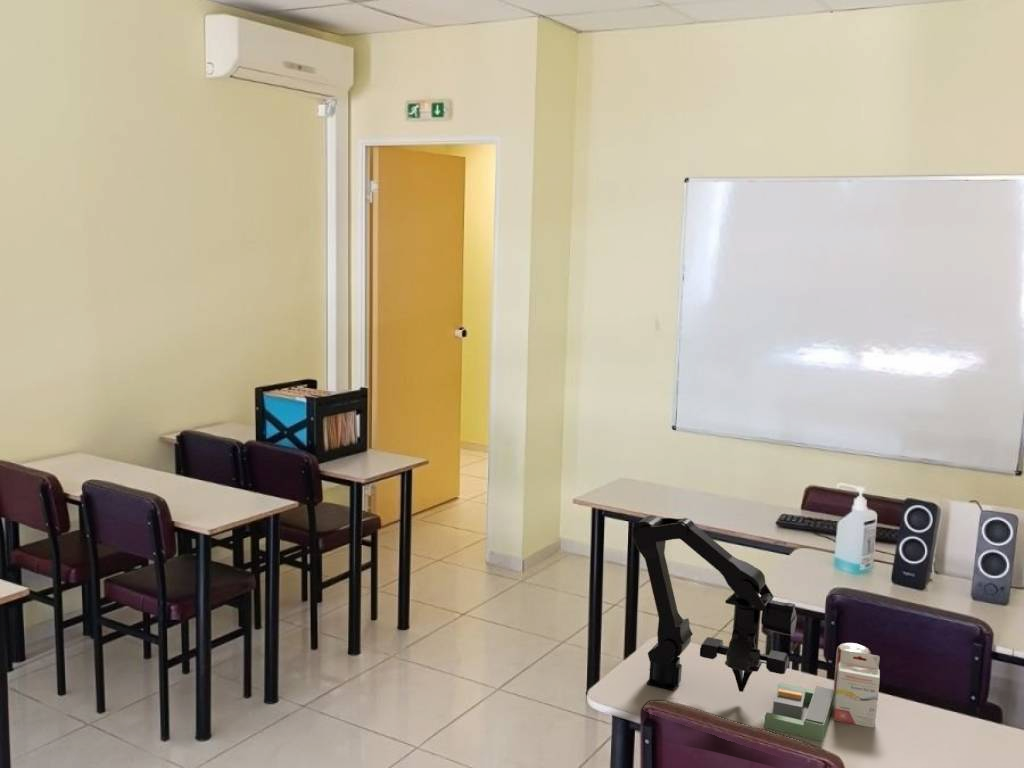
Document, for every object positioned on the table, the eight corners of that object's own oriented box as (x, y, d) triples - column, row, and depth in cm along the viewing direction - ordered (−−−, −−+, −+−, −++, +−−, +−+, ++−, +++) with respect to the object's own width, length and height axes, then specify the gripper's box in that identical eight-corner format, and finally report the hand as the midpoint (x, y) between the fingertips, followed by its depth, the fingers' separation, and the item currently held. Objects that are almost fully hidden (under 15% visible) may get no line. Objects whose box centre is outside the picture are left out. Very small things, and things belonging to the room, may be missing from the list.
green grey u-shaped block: (764, 727, 206) (765, 710, 206) (778, 692, 222) (780, 677, 222) (822, 741, 201) (823, 724, 201) (833, 704, 217) (834, 688, 217)
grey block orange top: (772, 716, 212) (774, 697, 211) (776, 700, 219) (778, 682, 218) (800, 722, 210) (802, 702, 209) (804, 706, 217) (805, 687, 216)
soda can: (868, 708, 216) (873, 657, 215) (835, 703, 218) (839, 653, 216) (863, 693, 223) (868, 644, 222) (831, 689, 225) (835, 640, 223)
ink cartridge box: (833, 721, 210) (839, 657, 208) (833, 710, 215) (839, 648, 212) (875, 728, 207) (881, 664, 205) (874, 718, 212) (880, 654, 210)
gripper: (695, 629, 211) (691, 696, 213) (783, 647, 203) (777, 716, 206) (708, 612, 221) (703, 676, 223) (791, 628, 213) (786, 694, 216)
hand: (741, 691), depth 217 cm, fingers closed
